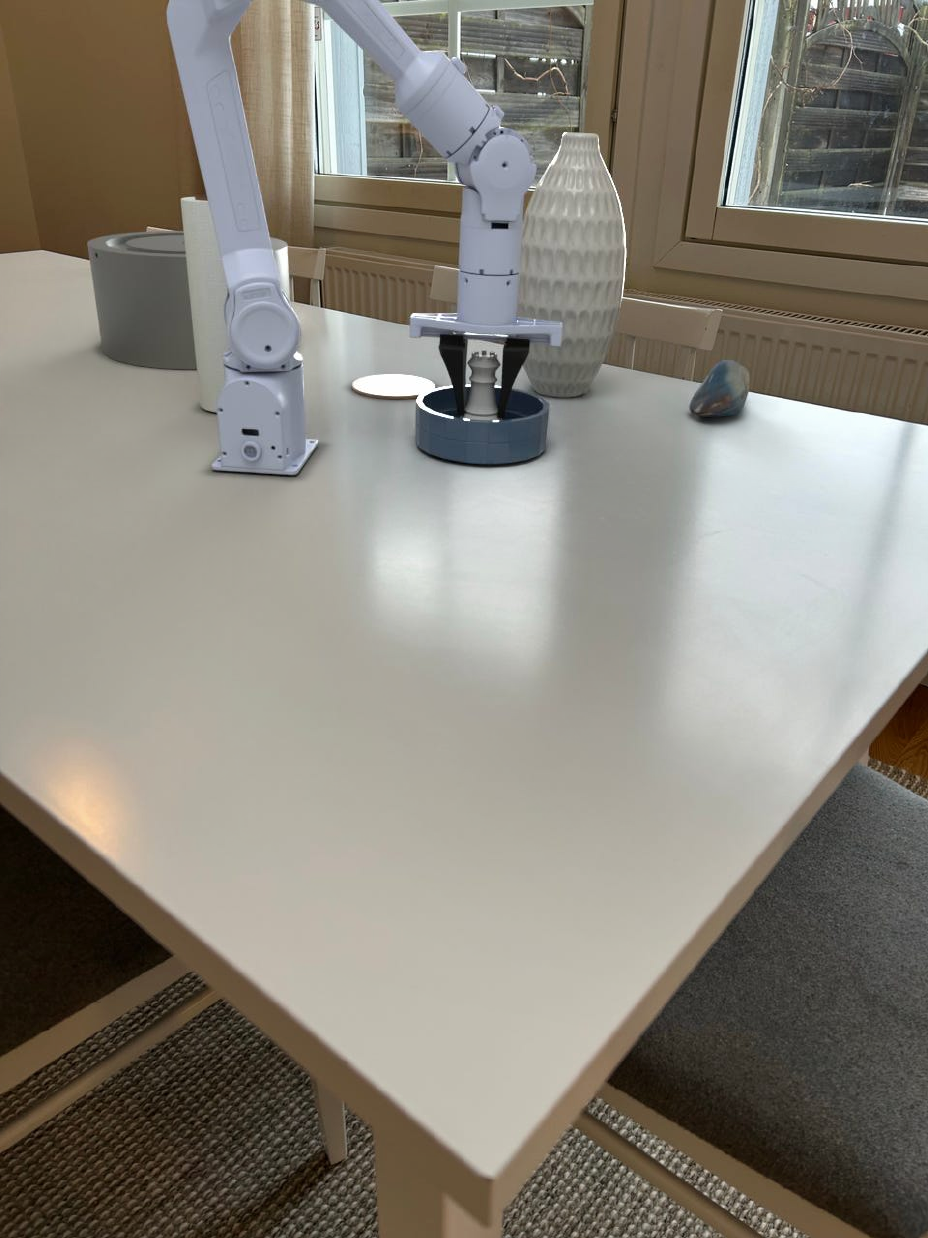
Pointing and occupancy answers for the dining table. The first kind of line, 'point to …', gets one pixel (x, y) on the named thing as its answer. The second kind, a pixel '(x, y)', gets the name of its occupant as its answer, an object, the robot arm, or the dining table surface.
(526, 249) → the vase
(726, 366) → the seashell
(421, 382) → the coaster
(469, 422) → the bowl
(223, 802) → the dining table surface
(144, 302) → the container
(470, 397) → the rook chess piece
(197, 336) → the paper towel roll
